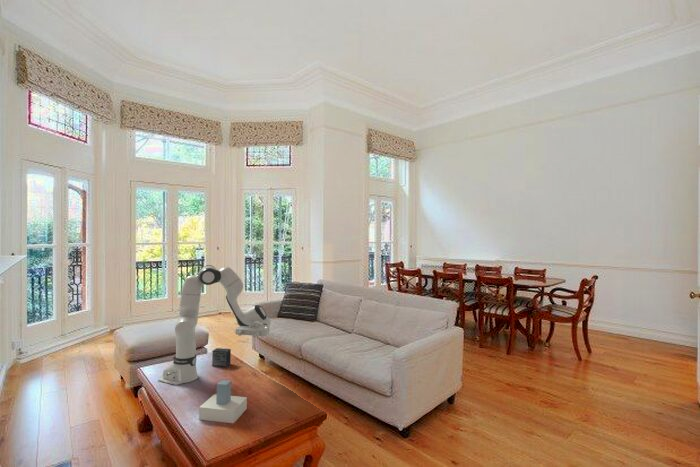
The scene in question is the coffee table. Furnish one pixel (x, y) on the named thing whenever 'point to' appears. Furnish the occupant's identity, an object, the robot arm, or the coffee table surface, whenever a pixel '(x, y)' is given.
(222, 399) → the slate block
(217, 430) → the coffee table surface
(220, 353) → the small box
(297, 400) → the coffee table surface
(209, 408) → the base
